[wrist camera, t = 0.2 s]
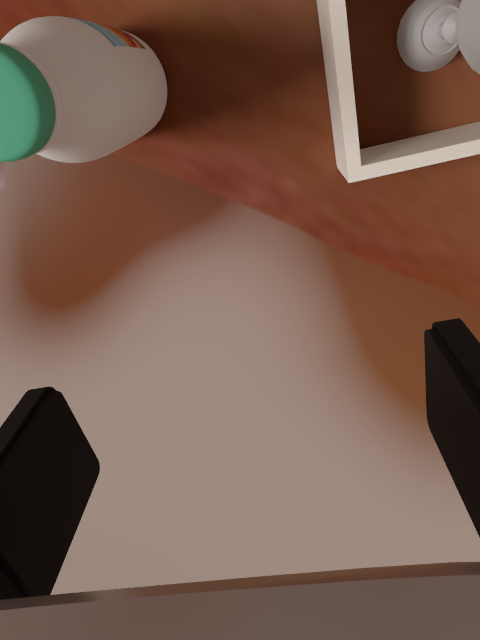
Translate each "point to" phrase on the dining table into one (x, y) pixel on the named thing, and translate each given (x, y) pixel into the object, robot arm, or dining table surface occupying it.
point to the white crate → (344, 119)
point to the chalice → (439, 33)
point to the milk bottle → (75, 90)
